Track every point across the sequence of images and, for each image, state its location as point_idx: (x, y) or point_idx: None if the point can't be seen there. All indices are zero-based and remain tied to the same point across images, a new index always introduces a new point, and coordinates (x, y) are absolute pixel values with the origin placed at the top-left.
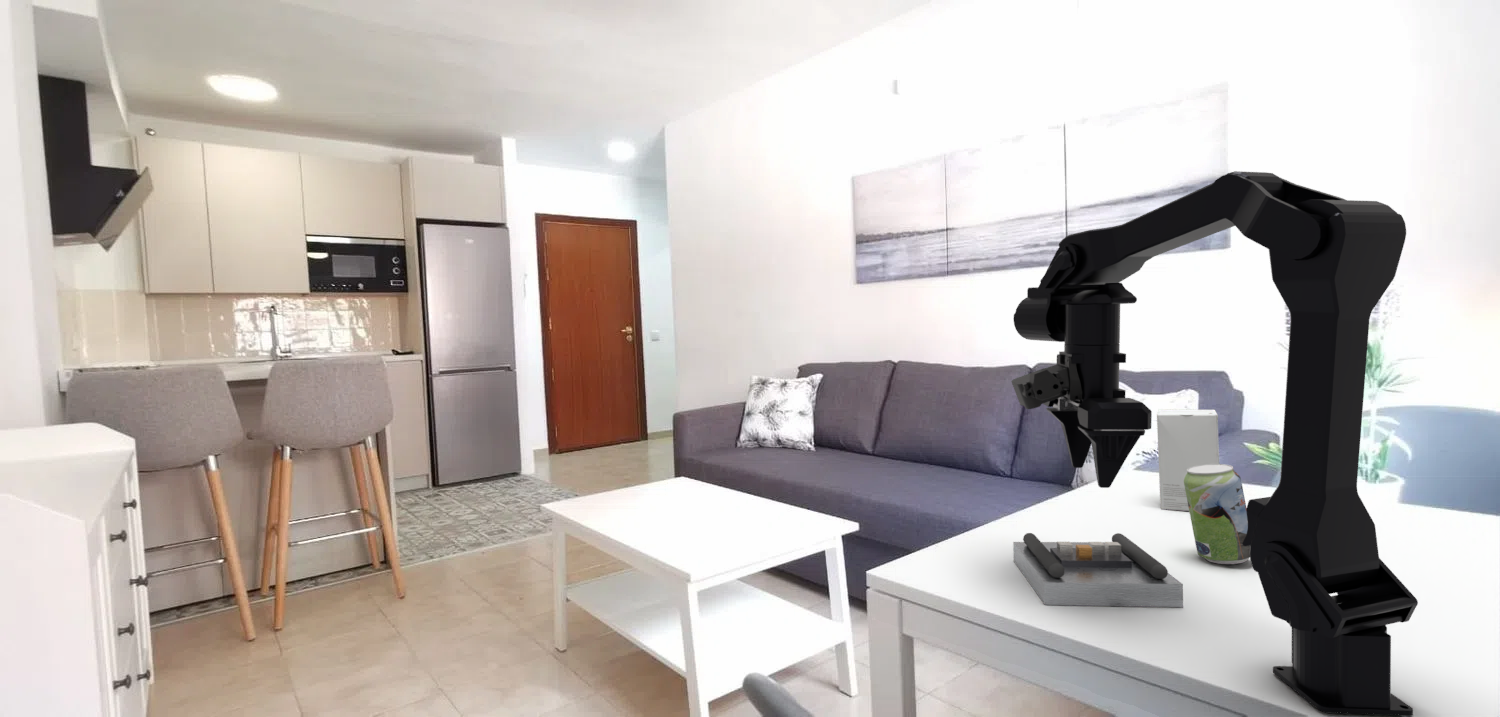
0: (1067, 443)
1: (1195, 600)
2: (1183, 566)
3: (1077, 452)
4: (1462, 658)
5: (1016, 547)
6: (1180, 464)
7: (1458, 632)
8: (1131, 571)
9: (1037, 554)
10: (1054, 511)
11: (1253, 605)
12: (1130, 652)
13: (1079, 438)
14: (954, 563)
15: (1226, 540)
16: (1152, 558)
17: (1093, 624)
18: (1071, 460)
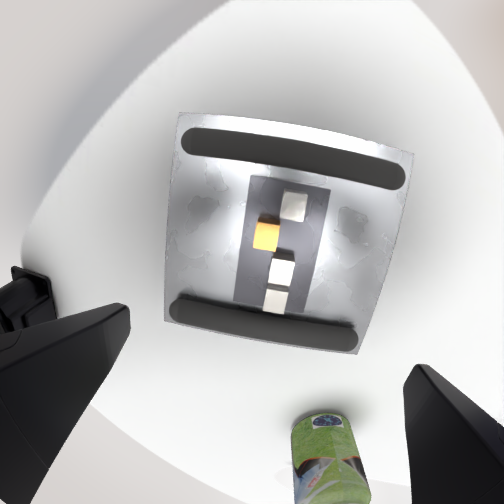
0: (474, 416)
1: (199, 332)
2: (316, 385)
3: (428, 416)
4: (103, 408)
5: (388, 146)
6: None
7: (144, 439)
8: (217, 284)
9: (283, 138)
10: None
11: (185, 374)
12: (69, 173)
13: (443, 469)
14: (395, 50)
15: (297, 443)
16: (205, 324)
17: (127, 161)
18: (434, 375)
